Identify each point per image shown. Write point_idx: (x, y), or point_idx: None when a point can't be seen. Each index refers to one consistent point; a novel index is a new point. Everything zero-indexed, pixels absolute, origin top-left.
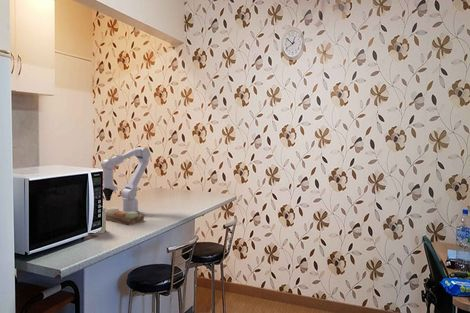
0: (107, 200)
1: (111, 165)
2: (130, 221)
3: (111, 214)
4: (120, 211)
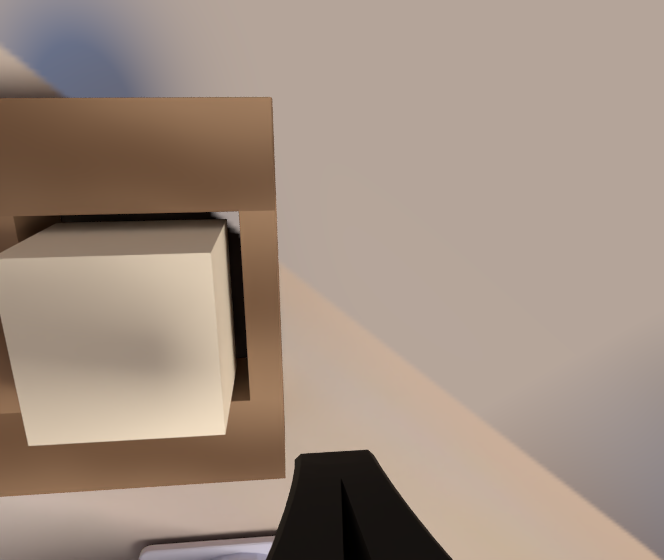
0: (300, 459)
1: None
2: None
3: (27, 210)
4: (119, 467)
